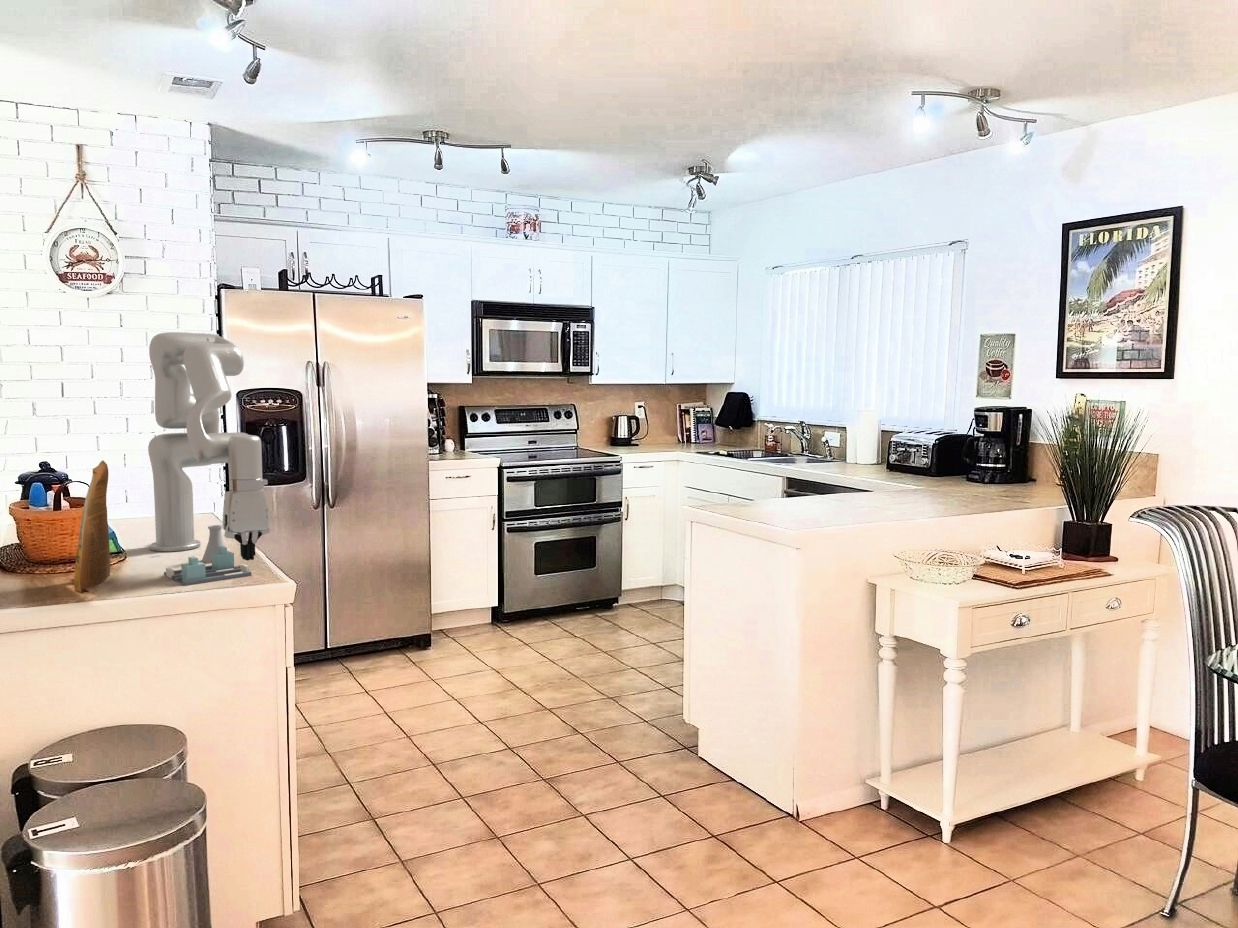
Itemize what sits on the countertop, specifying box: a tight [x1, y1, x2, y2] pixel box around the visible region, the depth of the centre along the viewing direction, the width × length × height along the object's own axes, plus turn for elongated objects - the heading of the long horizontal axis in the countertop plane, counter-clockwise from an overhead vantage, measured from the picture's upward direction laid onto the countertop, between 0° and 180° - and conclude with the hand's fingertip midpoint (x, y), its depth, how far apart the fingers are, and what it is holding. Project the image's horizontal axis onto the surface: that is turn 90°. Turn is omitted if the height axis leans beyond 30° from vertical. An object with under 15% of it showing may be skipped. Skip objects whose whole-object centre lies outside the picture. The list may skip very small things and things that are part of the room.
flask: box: [200, 524, 227, 564], centre depth 226 cm, size 7×7×10 cm
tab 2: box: [211, 546, 235, 570], centre depth 216 cm, size 4×4×6 cm
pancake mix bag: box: [73, 460, 111, 594], centre depth 203 cm, size 7×19×28 cm, turn 16°
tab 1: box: [180, 555, 206, 581], centre depth 204 cm, size 4×4×6 cm
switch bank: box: [163, 563, 253, 587], centre depth 210 cm, size 14×15×3 cm
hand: (248, 559), depth 220 cm, fingers closed
